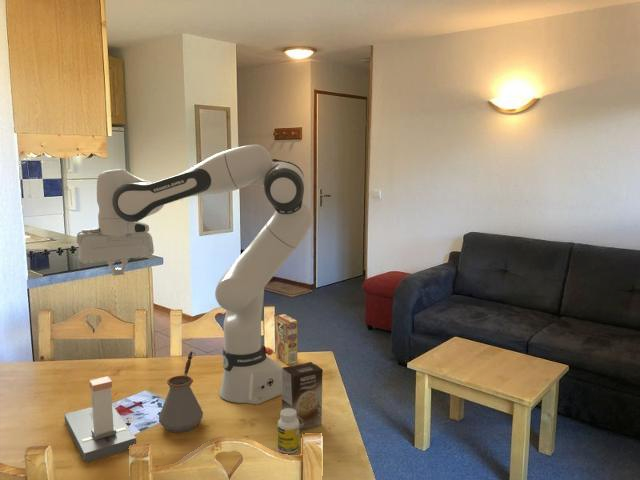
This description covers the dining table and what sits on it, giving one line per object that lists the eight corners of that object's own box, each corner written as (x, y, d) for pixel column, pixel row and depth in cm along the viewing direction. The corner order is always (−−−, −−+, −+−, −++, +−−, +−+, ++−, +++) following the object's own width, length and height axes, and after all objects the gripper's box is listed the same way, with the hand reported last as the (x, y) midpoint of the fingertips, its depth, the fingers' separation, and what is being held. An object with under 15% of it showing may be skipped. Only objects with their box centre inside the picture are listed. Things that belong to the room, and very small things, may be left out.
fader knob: (112, 427, 140) (108, 375, 138) (116, 433, 137) (113, 381, 134) (91, 432, 137) (87, 380, 135) (95, 439, 134) (91, 386, 131)
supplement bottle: (273, 451, 135) (273, 414, 133) (283, 440, 140) (282, 404, 138) (294, 456, 133) (294, 418, 131) (302, 445, 138) (302, 408, 136)
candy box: (298, 363, 189) (298, 320, 186) (287, 365, 186) (287, 322, 184) (285, 354, 196) (285, 313, 193) (274, 357, 194) (274, 315, 191)
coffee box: (292, 434, 143) (292, 376, 140) (281, 423, 148) (280, 367, 145) (322, 425, 147) (323, 369, 144) (310, 415, 153) (310, 360, 150)
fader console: (111, 410, 154) (110, 401, 154) (136, 447, 136) (135, 437, 135) (65, 422, 148) (64, 413, 147) (85, 463, 129) (84, 452, 129)
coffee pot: (198, 436, 141) (196, 382, 138) (153, 436, 141) (151, 381, 138) (213, 398, 162) (211, 350, 160) (174, 398, 162) (172, 350, 159)
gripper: (78, 231, 146) (82, 282, 148) (154, 225, 158) (156, 272, 160) (73, 228, 151) (77, 277, 153) (147, 222, 163) (149, 268, 165)
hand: (118, 274), depth 157 cm, fingers closed
